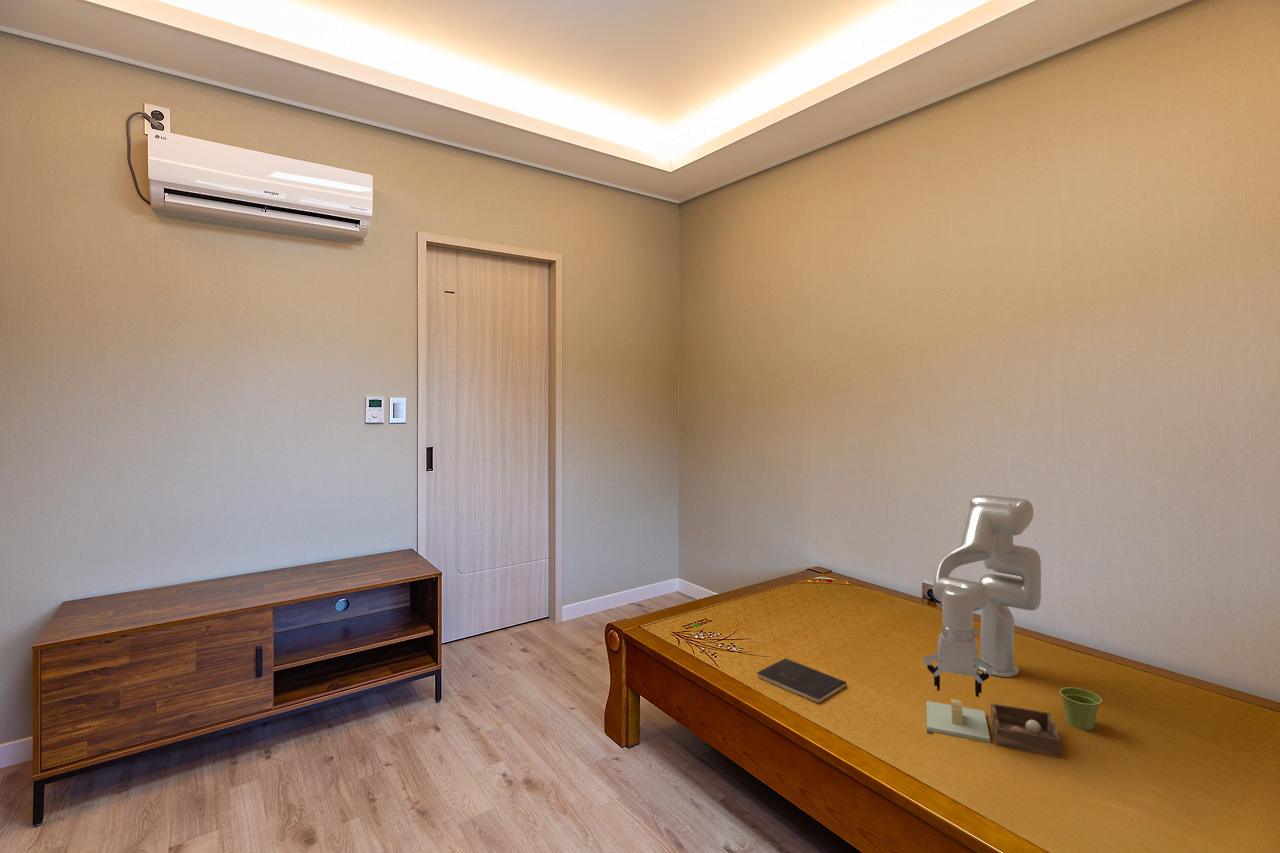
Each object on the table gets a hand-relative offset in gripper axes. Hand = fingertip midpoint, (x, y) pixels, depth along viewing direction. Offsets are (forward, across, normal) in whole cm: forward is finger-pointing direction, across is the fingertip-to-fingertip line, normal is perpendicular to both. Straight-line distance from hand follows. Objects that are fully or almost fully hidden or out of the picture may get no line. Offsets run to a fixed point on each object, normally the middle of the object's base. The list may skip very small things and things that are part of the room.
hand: (957, 691), depth 171 cm
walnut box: (+9, -16, +2) cm, 18 cm away
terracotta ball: (+8, -14, +4) cm, 17 cm away
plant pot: (+10, -31, -11) cm, 34 cm away
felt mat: (+9, 0, +1) cm, 9 cm away
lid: (+8, 0, +1) cm, 9 cm away
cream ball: (+9, -18, 0) cm, 20 cm away
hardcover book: (+10, +44, -8) cm, 46 cm away
